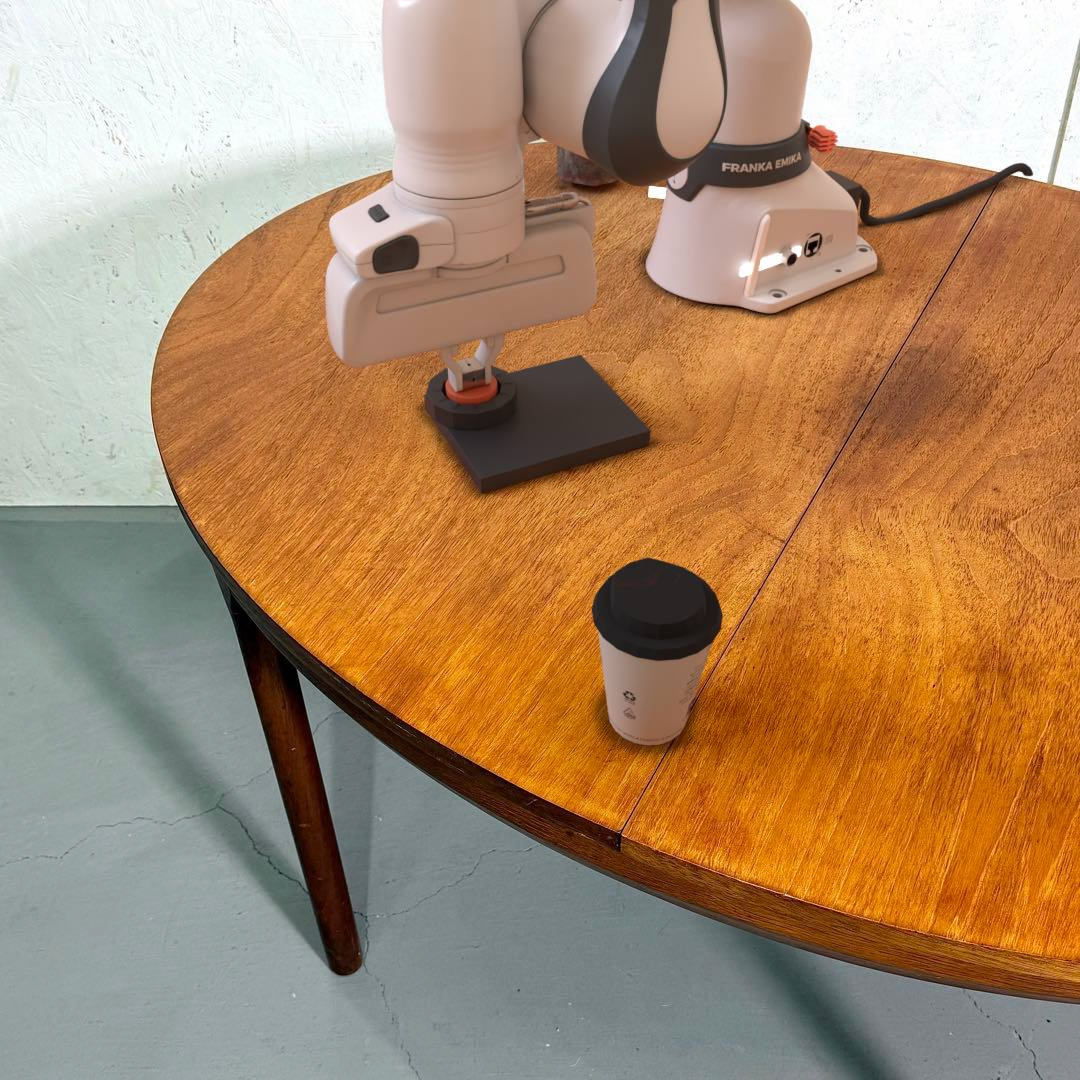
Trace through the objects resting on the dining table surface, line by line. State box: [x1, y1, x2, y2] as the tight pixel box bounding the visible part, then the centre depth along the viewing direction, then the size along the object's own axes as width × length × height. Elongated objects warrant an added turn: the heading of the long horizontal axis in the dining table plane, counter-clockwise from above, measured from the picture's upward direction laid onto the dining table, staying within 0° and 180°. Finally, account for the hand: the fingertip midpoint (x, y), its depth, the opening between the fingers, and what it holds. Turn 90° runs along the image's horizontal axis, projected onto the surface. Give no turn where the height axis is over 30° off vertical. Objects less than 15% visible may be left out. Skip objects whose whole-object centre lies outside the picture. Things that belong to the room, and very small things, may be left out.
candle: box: [556, 0, 622, 187], centre depth 112 cm, size 8×7×20 cm
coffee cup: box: [590, 557, 724, 746], centre depth 59 cm, size 7×7×10 cm
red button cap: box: [446, 375, 498, 405], centre depth 83 cm, size 4×4×2 cm
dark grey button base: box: [423, 354, 651, 494], centre depth 83 cm, size 14×12×3 cm
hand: (470, 384), depth 82 cm, fingers closed, pressing on red button cap
